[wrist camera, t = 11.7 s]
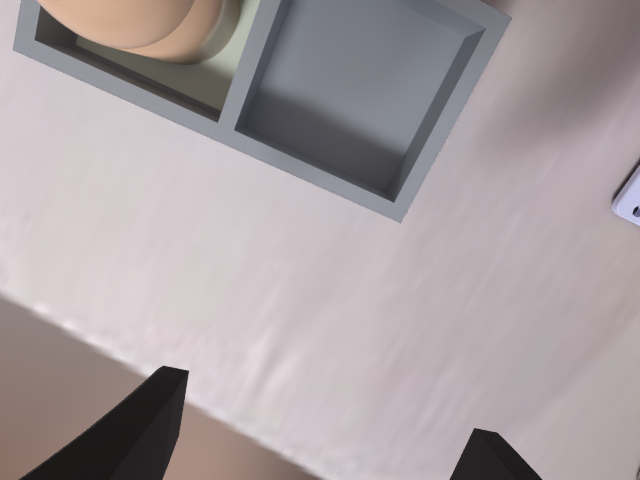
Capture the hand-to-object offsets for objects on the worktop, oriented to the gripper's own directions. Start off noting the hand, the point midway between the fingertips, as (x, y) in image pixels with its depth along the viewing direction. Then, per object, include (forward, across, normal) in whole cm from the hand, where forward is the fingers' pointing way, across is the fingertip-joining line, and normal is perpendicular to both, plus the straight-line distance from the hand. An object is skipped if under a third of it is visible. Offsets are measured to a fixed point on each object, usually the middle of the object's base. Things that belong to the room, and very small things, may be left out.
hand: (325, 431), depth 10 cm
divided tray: (+9, +4, -9) cm, 14 cm away
